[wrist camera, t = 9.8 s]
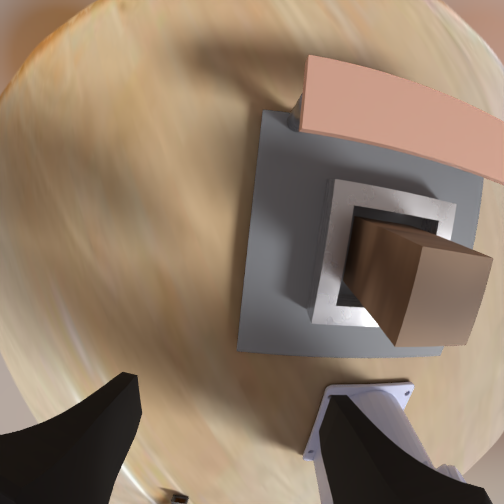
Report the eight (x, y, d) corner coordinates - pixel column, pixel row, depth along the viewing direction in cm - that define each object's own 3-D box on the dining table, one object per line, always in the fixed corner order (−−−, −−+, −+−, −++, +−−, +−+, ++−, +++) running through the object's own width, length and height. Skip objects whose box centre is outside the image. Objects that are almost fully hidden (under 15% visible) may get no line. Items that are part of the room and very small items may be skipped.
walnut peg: (397, 285, 18) (465, 345, 11) (342, 280, 18) (394, 346, 10) (410, 225, 17) (493, 258, 10) (354, 215, 17) (422, 246, 10)
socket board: (434, 349, 21) (481, 402, 13) (237, 343, 20) (230, 419, 13) (477, 150, 17) (549, 150, 10) (264, 97, 17) (270, 48, 9)
